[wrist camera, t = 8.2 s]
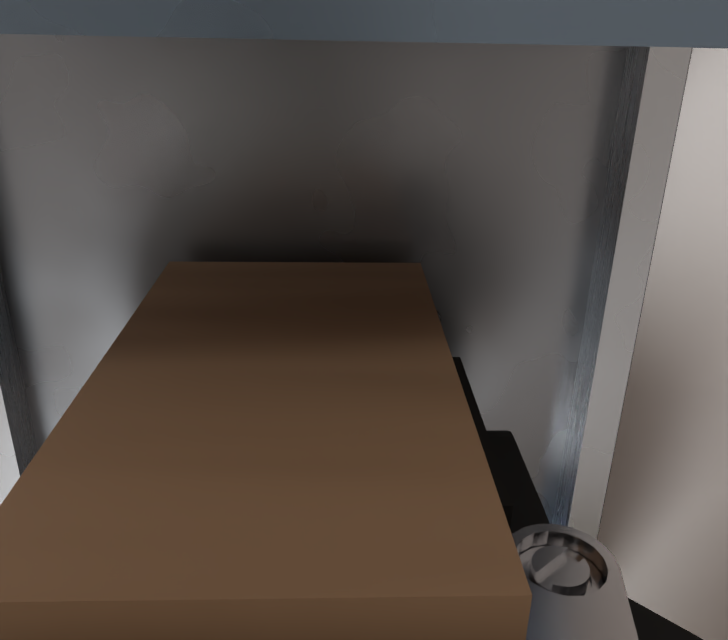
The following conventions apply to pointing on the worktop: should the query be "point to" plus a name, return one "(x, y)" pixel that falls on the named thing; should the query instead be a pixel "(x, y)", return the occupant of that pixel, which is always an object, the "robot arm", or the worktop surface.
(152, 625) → the walnut block
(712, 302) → the worktop surface
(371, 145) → the vise bed
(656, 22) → the sliding jaw
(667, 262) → the worktop surface
